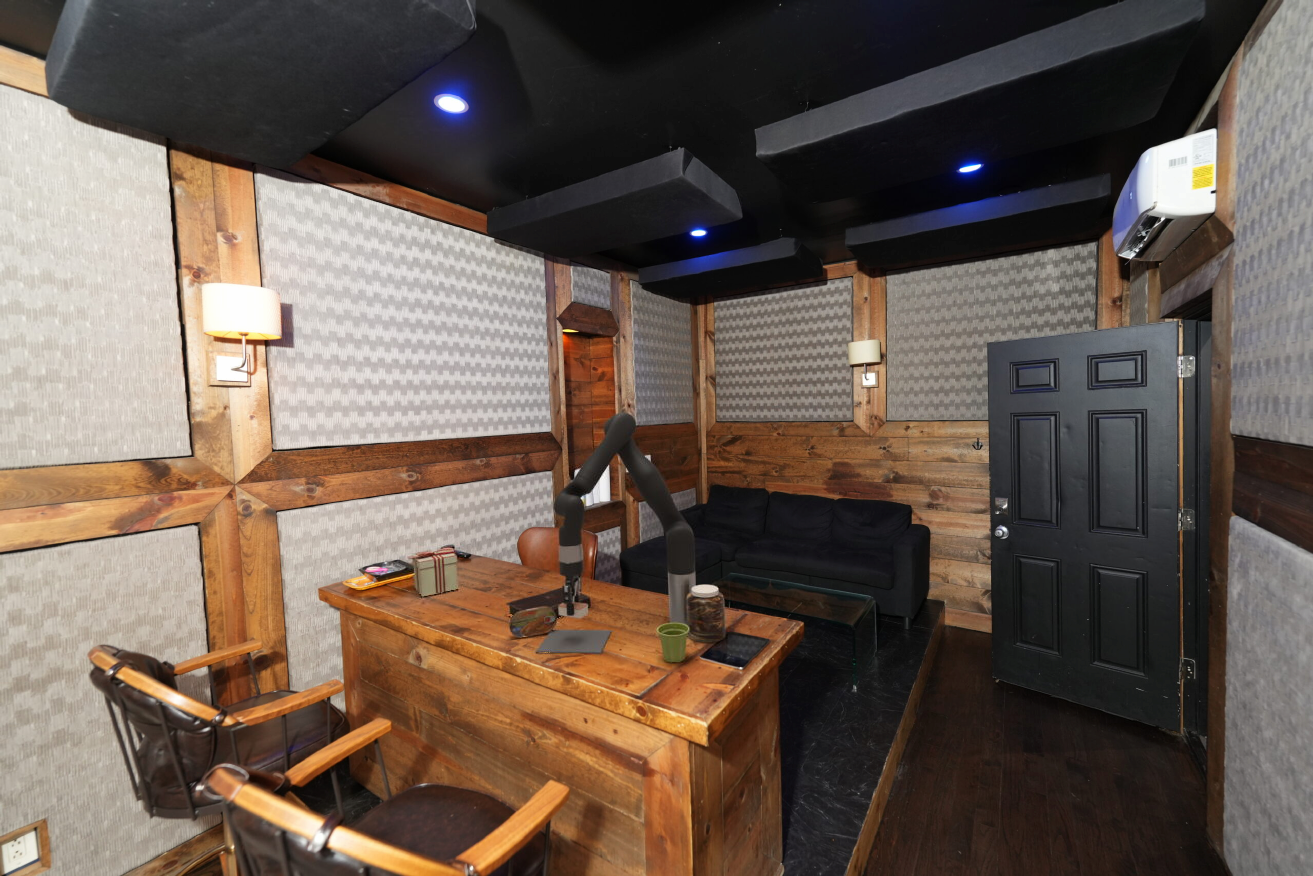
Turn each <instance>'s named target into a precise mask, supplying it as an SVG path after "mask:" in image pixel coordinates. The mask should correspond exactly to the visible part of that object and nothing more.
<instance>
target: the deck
mask: <svg viewBox="0 0 1313 876" xmlns="http://www.w3.org/2000/svg"><path fill="white" fill-rule="evenodd" d="M558 607H559V615H562V616H564V617H570V618H575V619H582V618H583V617H585V616H586V615H588V614H589V608H588V604H585V603H578V602H574V615H573V616H568V615H567V606H566V604H564V603H562V604H560V605H559V606H558Z"/></svg>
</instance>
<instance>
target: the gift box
mask: <svg viewBox="0 0 1313 876" xmlns="http://www.w3.org/2000/svg"><path fill="white" fill-rule="evenodd" d="M407 559H408V560H412V561H411V563H412V564H413V575H414V589H415V588H416V589H417V591H418V592H419V593H420V594H421V595H422V596H426V595H430V594H436V593H441V592H445V591H450V590H454V591H456V590H455V589H458V590H459V583H458V571H457V570H458V567H457V563H458V555H457V554H455V551H454V548H453V547H450V546H449V547H448V546H447V547H443V548H440V549H439V550H438V549H437V550H436V551H432V550H427V551H426V550H423V551H418V552H417V553H415V555H411V556H407ZM417 591H416V592H417ZM418 592H417V593H418ZM450 592H451V591H450ZM441 594H442V593H441Z"/></svg>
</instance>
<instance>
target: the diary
mask: <svg viewBox="0 0 1313 876" xmlns="http://www.w3.org/2000/svg"><path fill="white" fill-rule="evenodd" d="M568 600H569V597H568ZM591 602H592V601H591V596H589V595H588V594H584V593H582V592H580V596H579V603H585V604H588V607H589V608H591V607H590V606H591V605H592V603H591ZM562 603H563V593H562V587H560V588H559V587H558V588H556V589H553V590H549V591H545V592H543V593H538V594H536V595H531V596H526V597H522V598H519V599H516V600H512V601H509V602H505V605H506V606H509V614H512V615H514V614H515V613H517V612H519V611H522V610H527V609H532V608H537V607H542V606H547V607H550V608H551V609H553V611H554V612H555V614H556V616H557V618H558V619H560V618H559V617H561V616H562V615H559V607H558V606H559V605H560V604H562ZM561 618H562V617H561Z"/></svg>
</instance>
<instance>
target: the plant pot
mask: <svg viewBox="0 0 1313 876" xmlns="http://www.w3.org/2000/svg"><path fill="white" fill-rule="evenodd" d="M656 632H657V635H658V637H659V639H660V644H661V649H662V650H661V651H662V657H663V660H664V661H665V662H667V663H671V664H672V663H681V662H682V661H684V660H685V659H686V651H687V638H688V632H689V627H688V626H687V625H685V624H682V623H670V622H667V623H663V624H661V625H659V626H658V627H657V628H656Z"/></svg>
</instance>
